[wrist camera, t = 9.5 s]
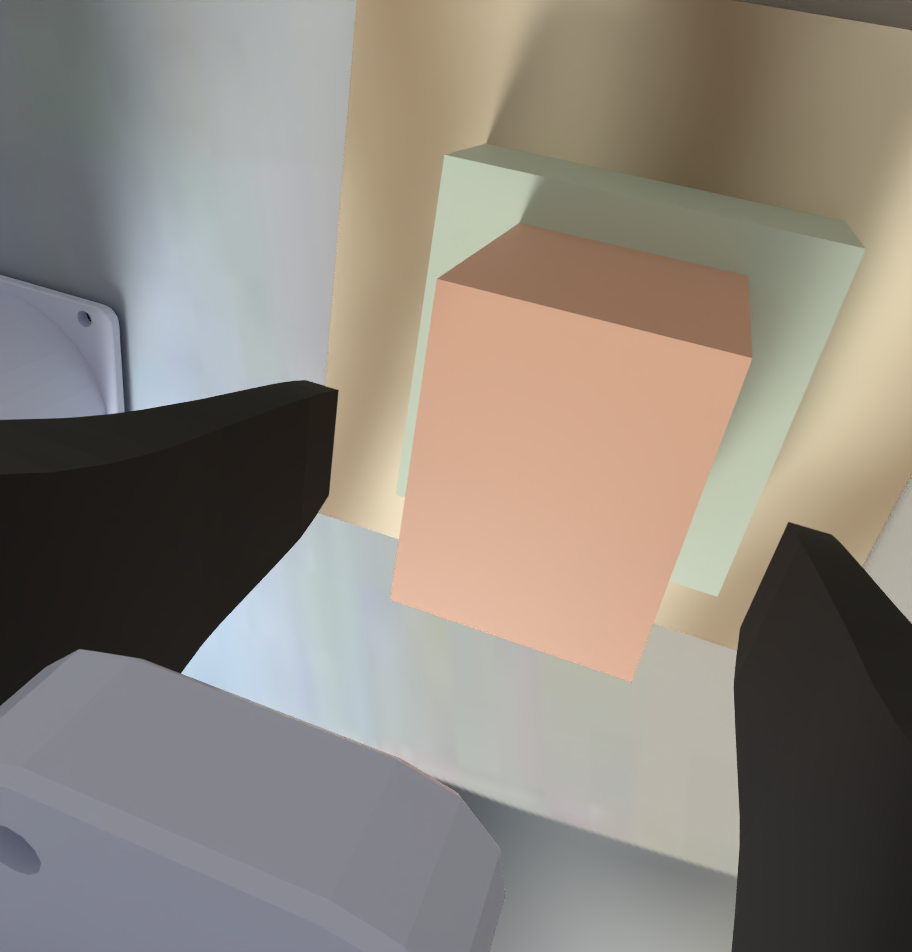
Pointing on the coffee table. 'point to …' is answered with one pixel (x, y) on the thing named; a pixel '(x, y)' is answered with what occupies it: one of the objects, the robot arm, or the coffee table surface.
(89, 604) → the robot arm
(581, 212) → the sage brick
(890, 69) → the baseplate
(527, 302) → the terracotta brick
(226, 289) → the coffee table surface
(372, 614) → the coffee table surface
